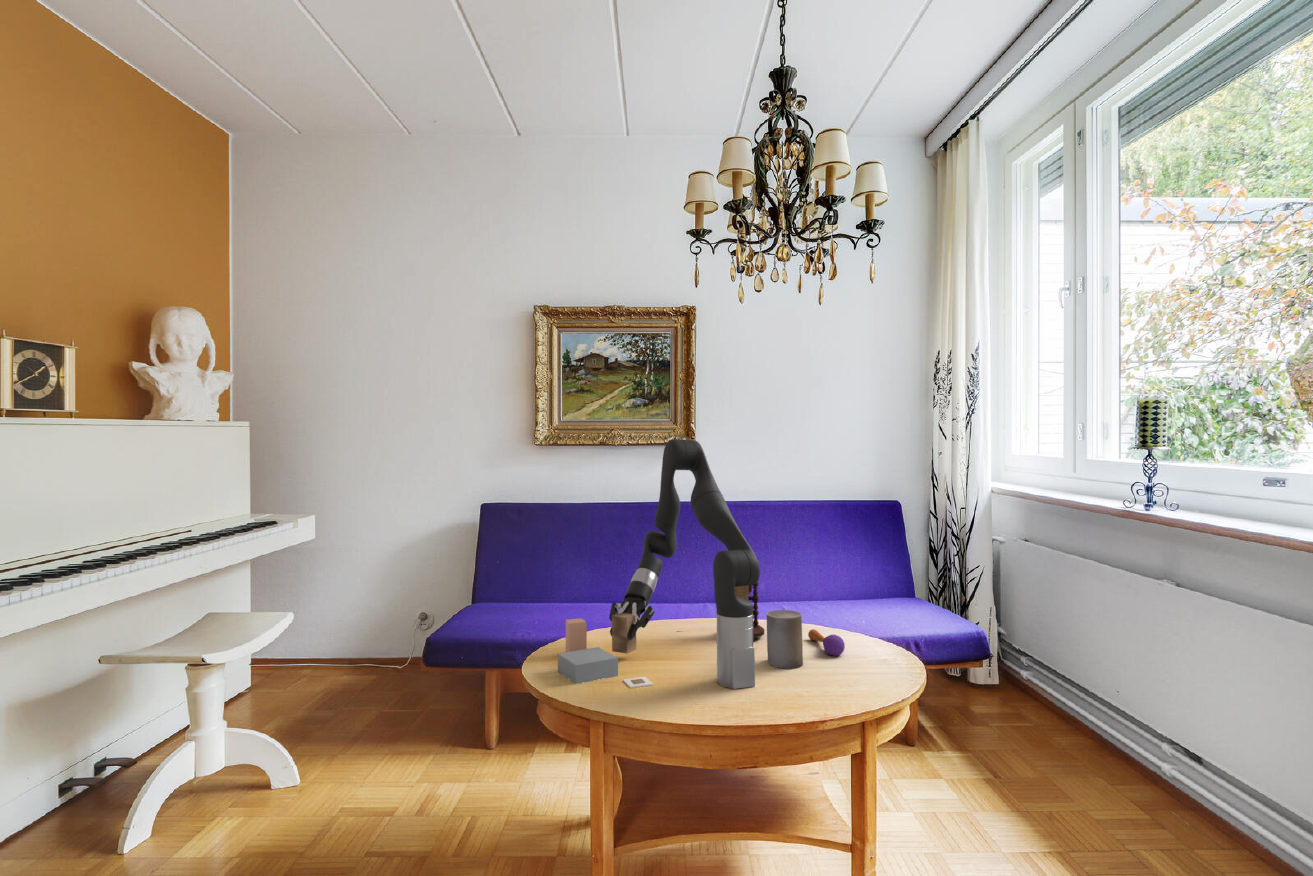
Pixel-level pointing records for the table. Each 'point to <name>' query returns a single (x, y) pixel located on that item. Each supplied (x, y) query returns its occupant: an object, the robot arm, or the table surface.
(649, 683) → the card
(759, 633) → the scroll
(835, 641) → the purple maraca
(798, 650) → the pillar candle
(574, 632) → the terracotta block
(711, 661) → the table surface
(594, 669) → the slate slab
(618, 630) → the walnut block
